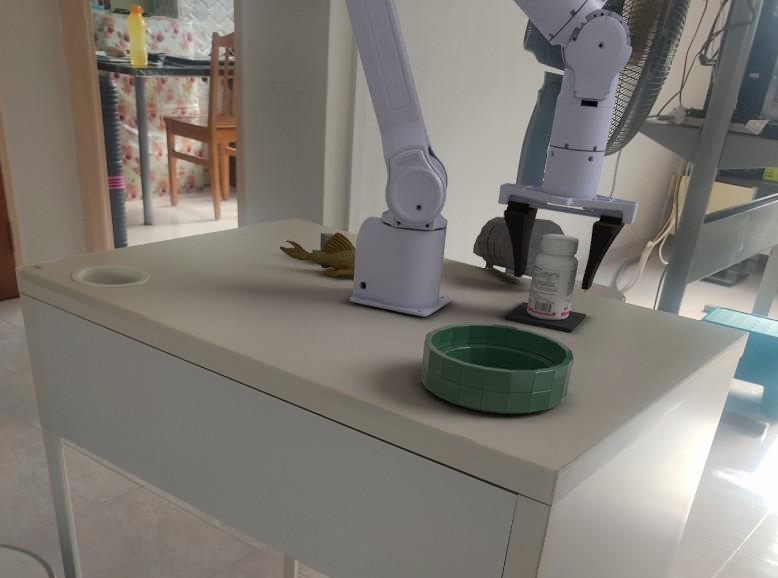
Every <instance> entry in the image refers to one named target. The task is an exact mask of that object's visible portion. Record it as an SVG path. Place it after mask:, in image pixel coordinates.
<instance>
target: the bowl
mask: <svg viewBox="0 0 778 578" xmlns="http://www.w3.org/2000/svg"><path fill="white" fill-rule="evenodd" d="M574 360H575V357H574V353H573V350H571V349H570V348H569V347H568V346H567V345H566V344H565V343H564V342H562V341H559V340H558V339H555V338H553V337H552V336H549V335H546V334H543V333H540V332H537V331H534V330H530V329H525V328H520V327H516V326H511V325H504V324H493V323H471V322H469V323H455V324H447V325H444V326H441V327H437V328H433V329H432V330H431V331H429V332H428V333H426V335H425V338H424V343H423V351H422V361H421V371H420V381H421V383H422V384H423V387H424V388H425V389H426V390H427V391H429V392H431V394H433V395H435V396H436V397H438V398H440V399H443V400H445V401H446V402H448V403H450V404H453V405H456V406H458V407H462V408H464V409H467V410H472V411H478V412H482V413H489V414H499V415H523V414H524V415H525V414H531V413H535V412H536V413H537V412H541V411H547V410H550V409H552V408H555V407H557V406H559V405H561V404H562V403H563V402H564V400H565V399H566V397H567V394H568V389H569V384H570V379H571V375H572V370H573V364H574Z"/></svg>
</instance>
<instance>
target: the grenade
mask: <svg viewBox="0 0 778 578" xmlns="http://www.w3.org/2000/svg"><path fill="white" fill-rule="evenodd" d="M546 234H560V235H566V234H565V233H564V231H563V229H562V227H561V225H559V224H558V223H556V222H555V221H554V220H551V219H546V218H545V219H543V218H535V222H534V226H533V230H532V234H531V238H530V244H529V251H528V260H527V266H526V271H525V274H524V275H523V276H524V277H525V276H526V277H530V278H532V275H533V268H534V262H535V258H536V256H537V255H538V254H539V253H541V252H542V251H541V250H540V248H541V247H540V244H541V239H542V236H543V235H546ZM476 236H477V237H476V239H475V241H474V244H473V248H472V254H474V255H475V256H478V257H479V258H482V260H483V261H485V266H486V269H487V270H489V271H492V272H494V273H495V274H497V275H500V276H502V277H504V278H506V279H507V280H510V281H511V282H512V283H513V284H514V285H521V283H522V281H521V279H518V278H517V277H514V276H512V275H510V274H508V273H506V272H504V271H501V270H499V269H498V268H496V267H500V268H504V269H508V270H511V271H514V259H513V250H512V244H511V239H510V235H509V231H508V228H507V225H506V222H505V219H504V216H495V217H494V218H490V219H489V220H487V222H486V223H485V224H484V225H483V226H482V227H481V230H480V232H479V233H478V235H476Z"/></svg>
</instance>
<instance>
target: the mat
mask: <svg viewBox="0 0 778 578" xmlns="http://www.w3.org/2000/svg"><path fill="white" fill-rule="evenodd" d="M527 305H528V302H526V301H523V302H521V303H520V304H519V305H517V306H516V307H515V308H513V309H512V310H511V311H510V312H508V313H507V314H506V315H505V316H504V319H505V320H507V321H513V322H518V323H523V324H526V325H527V324H528V325H533V326H538V327H543V328H548V329H553V330H558V331H563V332H568V333H572V332H573V331H574V330H575V329H576V328H577V327H578V326H579V325H580V324H581V323H582V322H583V321H584V320H585V319H586V317H587V313H583V312H577V311H572V310H570V311H569V315H568V317H567V318H565V319H562V320H545V319H540V318H536V317H533V316H531V315H530V314H529V313H528V312H527Z"/></svg>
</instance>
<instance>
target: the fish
mask: <svg viewBox="0 0 778 578" xmlns="http://www.w3.org/2000/svg"><path fill="white" fill-rule="evenodd" d="M285 242H286V243H288V244H290V245H292V246H293V247H285V246H279V249H280V250H281V251H282V252H283V253H284V254H285V255H287V256H289V257H290V258H292V259H295V260H299V261H309V262H313V263H316V264H317V263H318V264H320V267H321V269H325V270H323V276H328V277H333V278H336V277H341V276H354V267H355V250H356V246H354V244H353V243H352V242H351V240H350V239H349V238H348V237H347V236H346V235H344V234H343V233H341V232H334V233H333V236H332V237H331V238H329V239H328V240H327V241H326V243H325V245H324V247H323V248H324V249H323V250H322V252H329V253H316V252H315V251H313V250H314V249H311V251H312V252H309V251H307V250H306V249H305V248H304V247H303V246H301V244H299V243H298V242H295V241H293V240H289V239H288V240H287V239H286V240H285Z"/></svg>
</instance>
